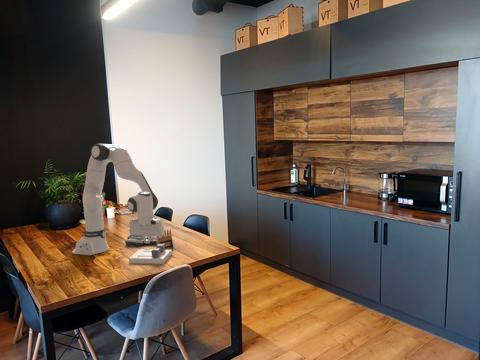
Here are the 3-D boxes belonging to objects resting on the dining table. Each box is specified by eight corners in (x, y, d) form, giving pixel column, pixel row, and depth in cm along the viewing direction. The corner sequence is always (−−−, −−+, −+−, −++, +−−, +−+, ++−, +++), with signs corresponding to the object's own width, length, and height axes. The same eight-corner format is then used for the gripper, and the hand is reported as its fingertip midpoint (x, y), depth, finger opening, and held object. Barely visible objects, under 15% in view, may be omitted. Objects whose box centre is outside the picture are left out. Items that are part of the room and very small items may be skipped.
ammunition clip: (157, 250, 238) (156, 232, 236) (156, 249, 240) (155, 231, 238) (173, 246, 244) (171, 229, 242) (172, 246, 246) (170, 228, 244)
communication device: (159, 247, 245) (158, 234, 244) (124, 246, 249) (123, 234, 248) (165, 241, 257) (164, 229, 256) (132, 240, 261) (131, 228, 259)
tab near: (151, 256, 218) (151, 250, 217) (154, 254, 221) (153, 248, 221) (158, 256, 217) (157, 250, 216) (160, 254, 221) (160, 248, 220)
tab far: (156, 251, 225) (156, 245, 225) (159, 249, 229) (158, 243, 228) (163, 252, 225) (162, 245, 224) (165, 250, 228) (164, 243, 228)
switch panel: (129, 262, 219) (128, 257, 218) (139, 253, 233) (139, 249, 233) (163, 263, 215) (163, 258, 215) (172, 254, 230) (171, 249, 230)
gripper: (126, 220, 214) (128, 243, 216) (160, 221, 210) (161, 245, 212) (131, 217, 220) (133, 240, 222) (164, 219, 216) (165, 242, 219)
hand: (147, 242), depth 217 cm, fingers closed
